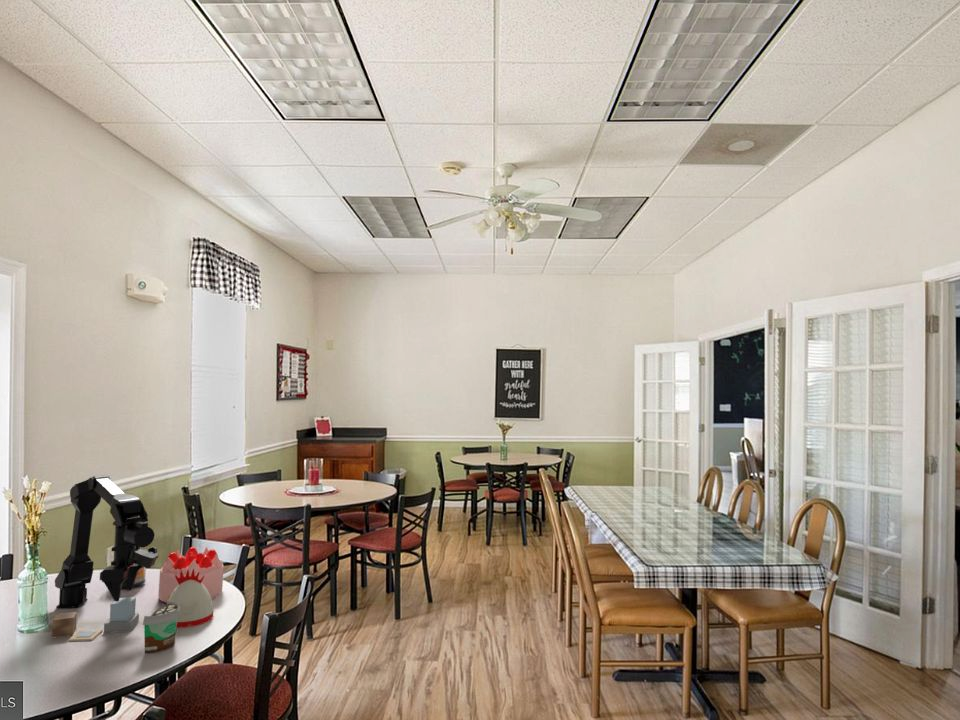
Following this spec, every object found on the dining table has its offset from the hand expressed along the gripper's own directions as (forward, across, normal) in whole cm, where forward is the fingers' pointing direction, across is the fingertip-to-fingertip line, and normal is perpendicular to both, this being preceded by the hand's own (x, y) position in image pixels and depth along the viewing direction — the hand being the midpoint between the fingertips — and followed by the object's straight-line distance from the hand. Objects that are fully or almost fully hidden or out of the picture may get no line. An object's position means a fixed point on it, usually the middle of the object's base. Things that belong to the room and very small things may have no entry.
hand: (123, 595), depth 180 cm
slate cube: (+6, 0, 0) cm, 7 cm away
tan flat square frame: (+9, -6, +7) cm, 13 cm away
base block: (+10, 0, 0) cm, 10 cm away
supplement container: (+9, +39, +13) cm, 42 cm away
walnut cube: (+9, -3, +14) cm, 17 cm away
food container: (+9, -15, -17) cm, 24 cm away
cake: (+9, +27, -11) cm, 31 cm away
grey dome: (+9, +5, -17) cm, 20 cm away
